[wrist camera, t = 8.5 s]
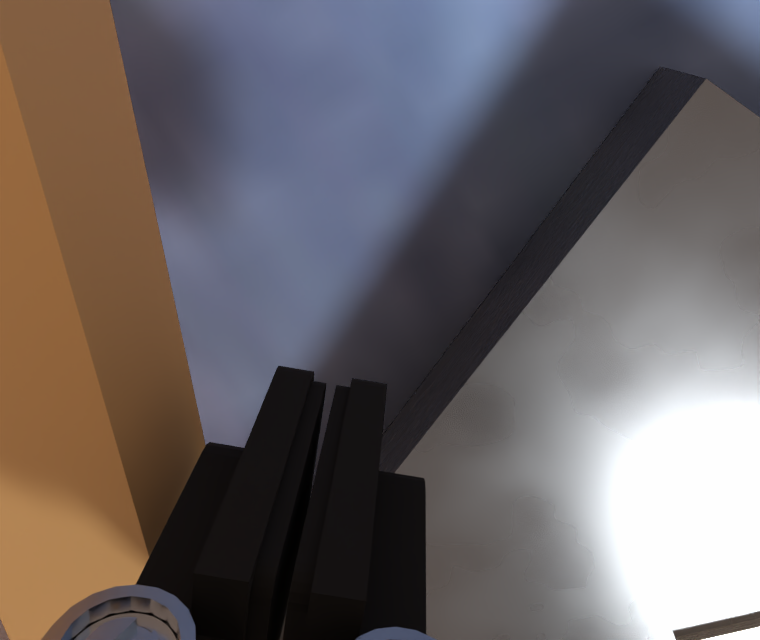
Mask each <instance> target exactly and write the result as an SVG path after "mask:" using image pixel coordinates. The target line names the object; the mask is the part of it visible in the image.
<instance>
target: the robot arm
mask: <svg viewBox="0 0 760 640" xmlns="http://www.w3.org/2000/svg"><path fill="white" fill-rule="evenodd" d="M325 391H326V383H321V382H315V381H314V372H312V371H306V370H301V369H295V368H289V367H283V366H278V368H277V370H276V372H275V374H274V377H273V379H272V382H271V384H270V387H269V389H268V392H267V394H266V396H265V399H264V401H263V404H262V406H261V409H260V411H259V414H258V416H257V419H256V421H255V423H254V426H253V428H252V431H251V433H250V436H249V438H248V441H247V443H246V445H245V448H241V447H235V446H229V445H223V444H217V443H211V442H209V443H208V444H207V445H206V446H205V448H204V449H203V451H202V453H201V455H200V457H199V459H198V461H197V463H196V465H195V467H194V469H193V471H192V473H191V475H190V477H189V479H188V481H187V483H186V485H185V487H184V489H183V491H182V493H181V495H180V497H179V499H178V501H177V503H176V505H175V507H174V509H173V511H172V513H171V515H170V517H169V519H168V521H167V523H166V525H165V527H164V529H163V531H162V533H161V535H160V537H159V539H158V541H157V543H156V545H155V547H154V549H153V551H152V553H151V555H150V557H149V559H148V561H147V563H146V565H145V567H144V569H143V571H142V573H141V575H140V577H139V579H138V581H137V583H136V585H126V586H115V587H112V588H109V589H106V590H103V591H100V592H97V593H94V594H91V595H90V596H88V597H86V598H85V599H83V600H81V601H80V602H78V603H76V604H75V605H73V606H71V607H70V608H69V609H68V610H67V611H66V612H65V613H64V614H63V615H62V616H61V617H60V618H59V619H58V620H57V621H56V622H55V623H54V624H53V625H52V626H51V628H50V629H49V630H48V631H47V633H46V634H45V635H44V636H43V638H42V639H41V640H280V639H281V634H282V630H283V626H284V621H285V626H284V633H283V640H436V639H434V638H432V637H430V636H428V635H426V487H425V480H424V478H421V477H415V476H409V475H403V474H397V473H391V472H385V471H379V463H380V453H381V443H382V432H383V422H384V411H385V401H386V391H387V384H383V383H377V382H372V381H366V380H360V379H354V378H352V381H351V386H350V387H345V386H339V385H337V386H336V389H335V394H334V398H333V402H332V407H331V411H330V415H329V420H328V424H327V428H326V433H325V437H324V441H323V446H322V450H321V454H320V459H319V463H318V467H317V472H316V476H315V480H314V485H313V489H312V493H311V488H312V481H313V474H314V467H315V460H316V453H317V446H318V440H319V433H320V426H321V419H322V412H323V405H324V398H325ZM310 495H311V498H310ZM285 617H286V619H285Z"/></svg>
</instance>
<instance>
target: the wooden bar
mask: <svg viewBox="0 0 760 640" xmlns="http://www.w3.org/2000/svg"><path fill="white" fill-rule="evenodd" d="M205 446H206V445H205V440H204V436H203V431H202V427H201V422H200V417H199V413H198V408H197V403H196V399H195V394H194V389H193V385H192V380H191V376H190V371H189V366H188V362H187V357H186V352H185V348H184V343H183V339H182V334H181V329H180V325H179V320H178V315H177V311H176V306H175V301H174V297H173V292H172V288H171V283H170V278H169V274H168V269H167V264H166V260H165V255H164V250H163V246H162V241H161V237H160V232H159V227H158V223H157V218H156V213H155V209H154V204H153V199H152V195H151V190H150V186H149V181H148V176H147V172H146V167H145V162H144V158H143V153H142V148H141V144H140V139H139V135H138V130H137V125H136V121H135V116H134V111H133V107H132V102H131V98H130V93H129V88H128V84H127V79H126V74H125V70H124V65H123V60H122V56H121V51H120V47H119V42H118V37H117V33H116V28H115V23H114V19H113V14H112V9H111V5H110V0H0V619H1V622H2V624H3V626H4V628H5V631H6V633H7V635H8V637H9V639H10V640H41V639H42V638H43V636H44V635H45V634H46V633H47V631H48V630H49V629H50V628H51V626H52V625H53V624H54V623H55V622H56V621H57V620H58V619H59V618H60V617H61V616H62V615H63V614H64V613H65V612H66V611H67V610H68V609H69V608H70V607H71V606H73V605H75V604H76V603H78V602H80V601H81V600H83V599H85V598H86V597H88V596H90V595H91V594H94V593H97V592H100V591H103V590H106V589H109V588H112V587H115V586H126V585H136V583H137V581H138V579H139V577H140V575H141V573H142V571H143V569H144V567H145V565H146V563H147V561H148V559H149V557H150V555H151V553H152V551H153V549H154V547H155V545H156V543H157V541H158V539H159V537H160V535H161V533H162V531H163V529H164V527H165V525H166V523H167V521H168V519H169V517H170V515H171V513H172V511H173V509H174V507H175V505H176V503H177V501H178V499H179V497H180V495H181V493H182V491H183V489H184V487H185V485H186V483H187V481H188V479H189V477H190V475H191V473H192V471H193V469H194V467H195V465H196V463H197V461H198V459H199V457H200V455H201V453H202V451H203V449H204V448H205Z"/></svg>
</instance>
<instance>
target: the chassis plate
mask: <svg viewBox="0 0 760 640" xmlns="http://www.w3.org/2000/svg"><path fill="white" fill-rule="evenodd" d="M379 471H385V472H391V473H397V474H403V475H409V476H415V477H421V478H424V480H425V487H426V635H428V636H430V637H432V638H434V639H436V640H760V117H759V116H757V115H756V114H754V113H753V112H752V111H750V110H749V109H747V108H746V107H745V106H743V105H742V104H741V103H739V102H738V101H736V100H735V99H734V98H732V97H731V96H730V95H728V94H727V93H725V92H724V91H723V90H721V89H720V88H718V87H717V86H716V85H714V84H713V83H712V82H710V81H709V80H707V79H706V78H702V77H698V76H694V75H690V74H686V73H682V72H678V71H675V70H671V69H667V68H663V67H660V68H659V69H658V70H657V72H656V73H655V74H654V76H653V77H652V78H651V80H650V81H649V82H648V84H647V85H646V86H645V88H644V89H643V90H642V92H641V93H640V94H639V96H638V97H637V98H636V100H635V101H634V102H633V104H632V105H631V106H630V108H629V109H628V110H627V112H626V113H625V114H624V116H623V117H622V118H621V120H620V121H619V122H618V124H617V125H616V126H615V128H614V129H613V130H612V132H611V133H610V134H609V136H608V137H607V138H606V140H605V141H604V142H603V143H602V145H601V146H600V147H599V149H598V150H597V151H596V153H595V154H594V155H593V157H592V158H591V159H590V161H589V162H588V163H587V165H586V166H585V167H584V169H583V170H582V171H581V173H580V174H579V175H578V177H577V178H576V179H575V181H574V182H573V183H572V185H571V186H570V187H569V189H568V190H567V191H566V193H565V194H564V195H563V197H562V198H561V199H560V201H559V202H558V203H557V205H556V206H555V207H554V209H553V210H552V211H551V213H550V214H549V215H548V217H547V218H546V219H545V221H544V222H543V223H542V224H541V226H540V227H539V228H538V230H537V231H536V232H535V234H534V235H533V236H532V238H531V239H530V240H529V242H528V243H527V244H526V246H525V247H524V248H523V250H522V251H521V252H520V254H519V255H518V256H517V258H516V259H515V260H514V262H513V263H512V264H511V266H510V267H509V268H508V270H507V271H506V272H505V274H504V275H503V276H502V278H501V279H500V280H499V282H498V283H497V284H496V286H495V287H494V288H493V290H492V291H491V292H490V294H489V295H488V296H487V298H486V299H485V300H484V301H483V303H482V304H481V305H480V307H479V308H478V309H477V311H476V312H475V313H474V315H473V316H472V317H471V319H470V320H469V321H468V323H467V324H466V325H465V327H464V328H463V329H462V331H461V332H460V333H459V335H458V336H457V337H456V339H455V340H454V341H453V343H452V344H451V345H450V347H449V348H448V349H447V351H446V352H445V353H444V355H443V356H442V357H441V359H440V360H439V361H438V363H437V364H436V365H435V367H434V368H433V369H432V371H431V372H430V373H429V375H428V376H427V377H426V379H425V380H424V381H423V382H422V384H421V385H420V386H419V388H418V389H417V390H416V392H415V393H414V394H413V396H412V397H411V398H410V400H409V401H408V402H407V404H406V405H405V406H404V408H403V409H402V410H401V412H400V413H399V414H398V416H397V417H396V418H395V420H394V421H393V422H392V424H391V425H390V426H389V428H388V429H387V430H386V432H385V433H384V434H383V436H382V443H381V453H380V463H379ZM285 619H286V617H285ZM284 626H285V621H284ZM284 626H283V630H282V634H281V639H280V640H283V633H284Z"/></svg>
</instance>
